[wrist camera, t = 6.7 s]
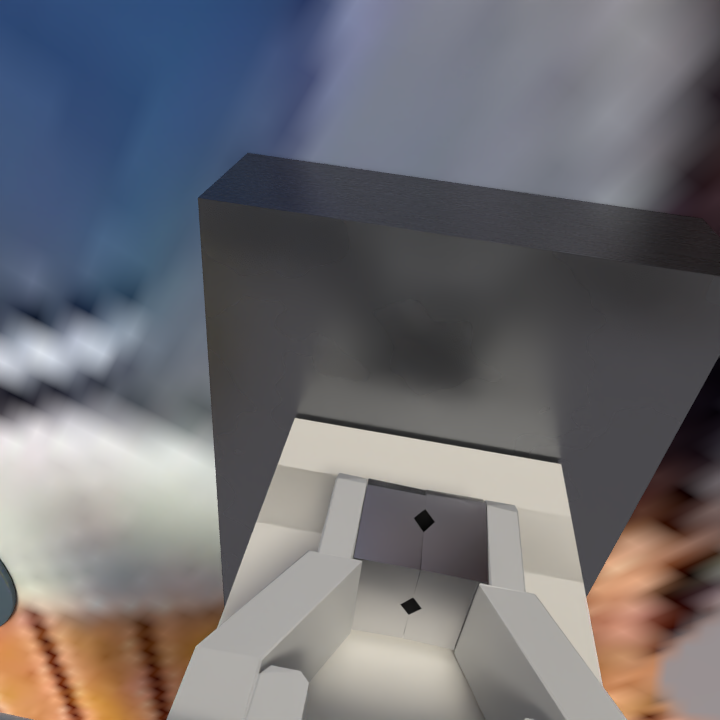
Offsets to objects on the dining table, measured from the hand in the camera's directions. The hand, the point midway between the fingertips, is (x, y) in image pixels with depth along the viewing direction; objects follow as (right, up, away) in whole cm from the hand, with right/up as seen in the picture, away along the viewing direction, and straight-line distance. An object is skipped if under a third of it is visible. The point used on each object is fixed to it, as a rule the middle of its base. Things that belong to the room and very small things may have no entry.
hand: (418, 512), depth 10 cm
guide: (0, -2, +9) cm, 9 cm away
